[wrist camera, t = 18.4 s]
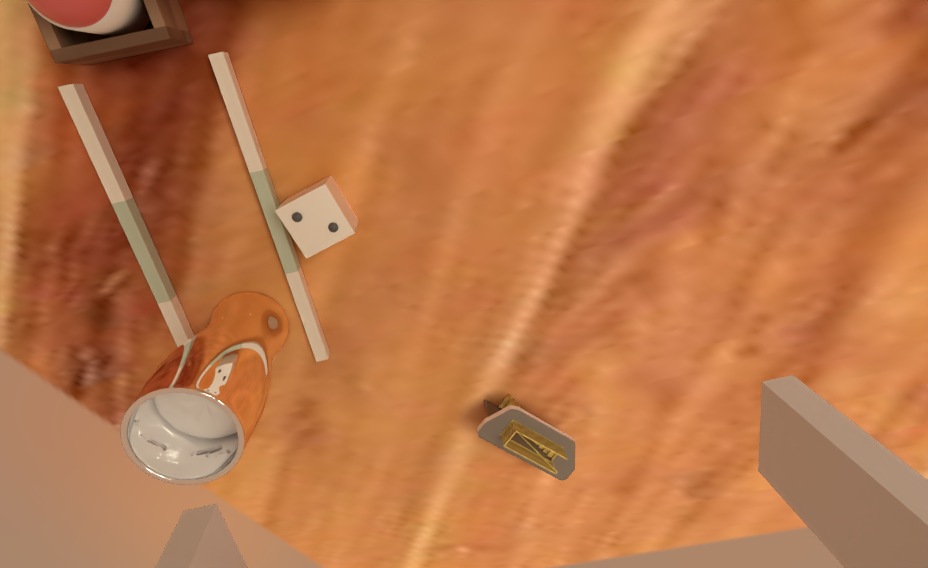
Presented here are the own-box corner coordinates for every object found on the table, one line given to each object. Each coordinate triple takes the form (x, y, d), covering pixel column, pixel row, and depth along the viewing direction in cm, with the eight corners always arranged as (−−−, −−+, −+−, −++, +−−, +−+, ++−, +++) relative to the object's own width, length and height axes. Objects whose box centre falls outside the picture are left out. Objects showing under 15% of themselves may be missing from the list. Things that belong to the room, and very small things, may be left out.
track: (68, 86, 36) (57, 87, 35) (227, 52, 36) (222, 51, 35) (202, 382, 45) (197, 390, 44) (329, 352, 45) (328, 359, 44)
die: (285, 199, 41) (274, 211, 37) (331, 174, 40) (324, 184, 36) (314, 243, 42) (306, 259, 38) (358, 219, 42) (354, 233, 38)
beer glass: (309, 344, 45) (270, 461, 31) (234, 374, 45) (161, 505, 31) (268, 273, 42) (206, 365, 28) (189, 306, 42) (88, 414, 29)
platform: (483, 314, 46) (496, 349, 40) (630, 405, 52) (661, 448, 46) (407, 414, 49) (409, 461, 43) (554, 491, 54) (574, 542, 48)
